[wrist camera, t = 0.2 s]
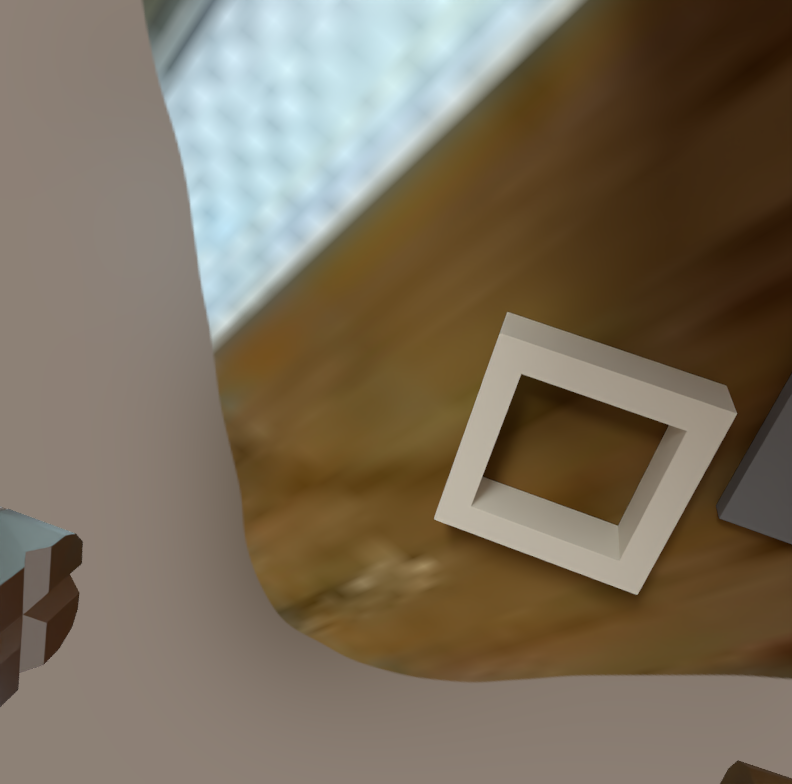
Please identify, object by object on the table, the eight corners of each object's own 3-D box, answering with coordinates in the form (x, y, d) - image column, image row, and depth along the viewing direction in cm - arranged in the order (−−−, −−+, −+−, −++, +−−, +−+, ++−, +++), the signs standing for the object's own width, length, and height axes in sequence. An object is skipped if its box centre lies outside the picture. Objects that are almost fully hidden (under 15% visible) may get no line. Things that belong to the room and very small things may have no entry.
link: (507, 311, 47) (499, 332, 43) (726, 385, 45) (737, 413, 42) (444, 488, 53) (433, 519, 49) (634, 558, 52) (637, 595, 48)
